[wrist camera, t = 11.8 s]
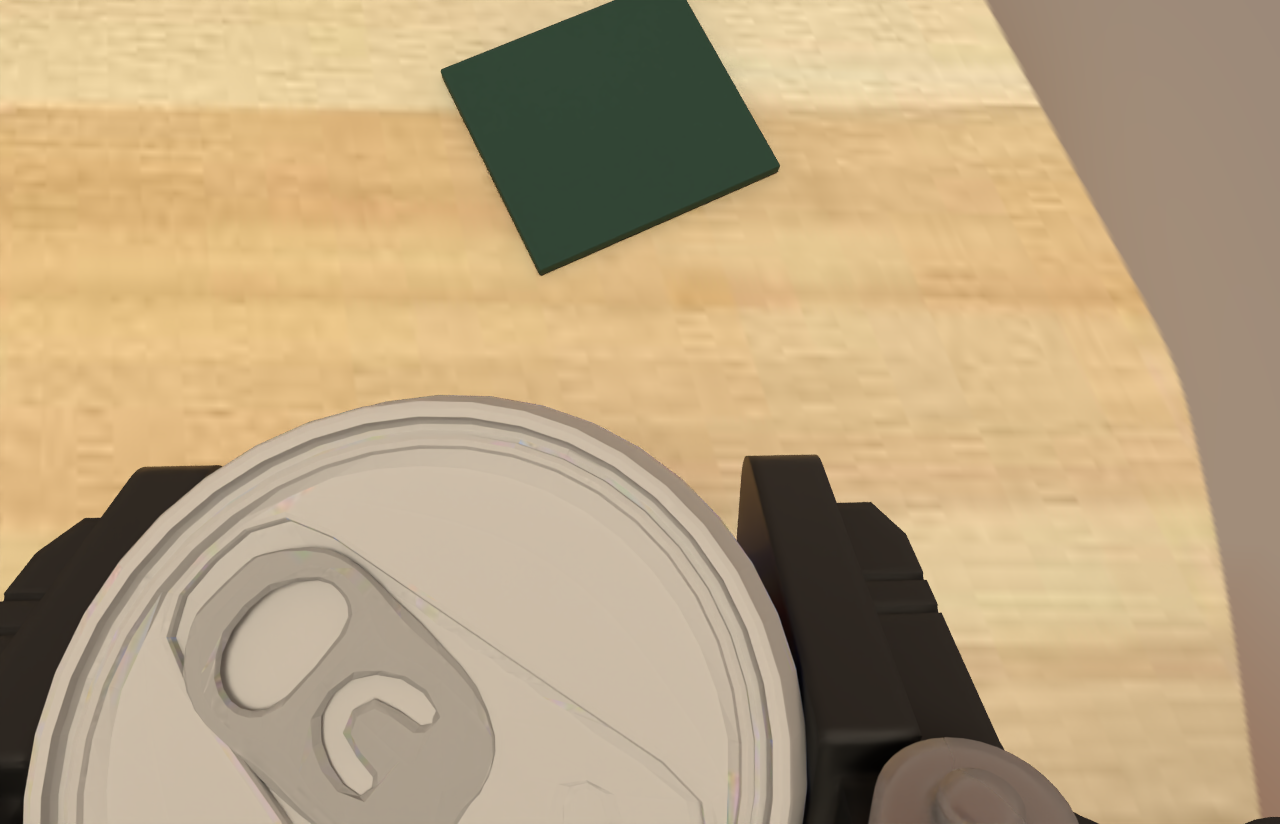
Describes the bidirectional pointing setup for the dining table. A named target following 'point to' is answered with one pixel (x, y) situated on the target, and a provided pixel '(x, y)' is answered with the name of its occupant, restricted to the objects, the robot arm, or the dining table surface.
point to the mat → (607, 126)
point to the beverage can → (428, 641)
